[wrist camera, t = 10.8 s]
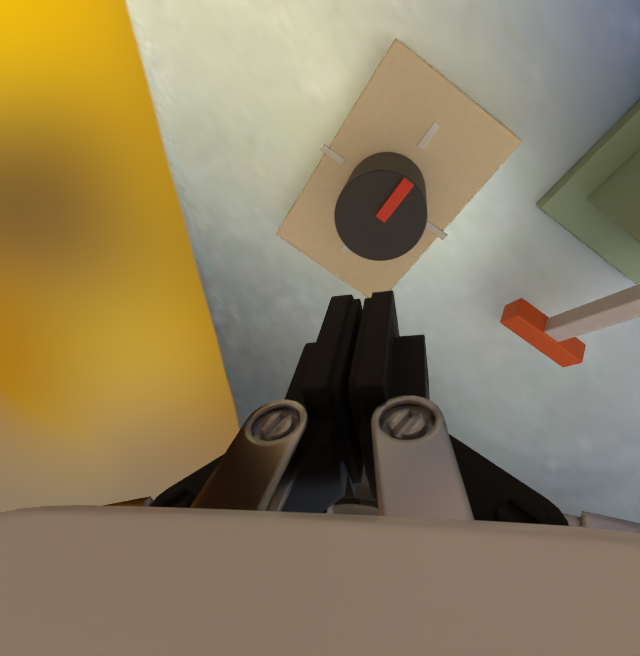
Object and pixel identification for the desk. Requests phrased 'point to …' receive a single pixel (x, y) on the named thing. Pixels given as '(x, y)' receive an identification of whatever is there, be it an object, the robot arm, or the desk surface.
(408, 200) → the knob
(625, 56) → the desk surface
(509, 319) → the toaster lever
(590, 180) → the switch bracket
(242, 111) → the desk surface
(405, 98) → the dial plate
